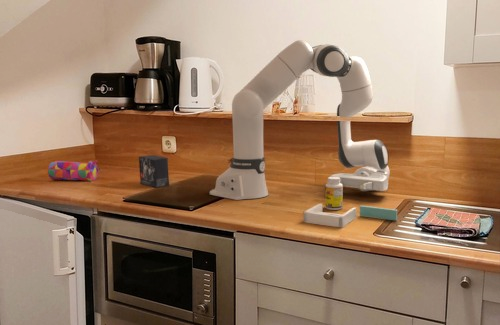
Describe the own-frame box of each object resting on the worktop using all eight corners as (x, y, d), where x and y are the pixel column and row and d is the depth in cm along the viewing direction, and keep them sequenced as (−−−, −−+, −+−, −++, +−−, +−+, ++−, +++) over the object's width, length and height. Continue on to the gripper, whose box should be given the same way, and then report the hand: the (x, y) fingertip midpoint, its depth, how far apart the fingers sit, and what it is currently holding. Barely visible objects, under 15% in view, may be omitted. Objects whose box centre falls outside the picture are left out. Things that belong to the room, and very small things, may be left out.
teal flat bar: (359, 215, 141) (359, 206, 141) (360, 215, 142) (360, 205, 141) (396, 220, 135) (396, 210, 135) (397, 219, 136) (397, 209, 136)
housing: (303, 222, 136) (303, 212, 136) (319, 212, 146) (319, 203, 146) (342, 227, 130) (342, 217, 130) (356, 217, 140) (356, 207, 140)
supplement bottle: (322, 206, 153) (322, 176, 152) (338, 205, 154) (338, 175, 153) (328, 211, 148) (329, 179, 146) (345, 209, 149) (345, 178, 147)
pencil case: (102, 178, 213) (100, 159, 211) (92, 182, 203) (91, 162, 202) (57, 178, 215) (56, 159, 214) (46, 182, 206) (44, 162, 205)
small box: (139, 183, 198) (138, 156, 196) (153, 181, 202) (152, 154, 200) (155, 188, 188) (153, 159, 186) (169, 185, 192) (168, 157, 191)
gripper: (339, 168, 176) (322, 173, 165) (392, 172, 164) (377, 179, 153) (339, 184, 177) (322, 190, 166) (391, 190, 165) (377, 197, 154)
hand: (349, 185), depth 160 cm, fingers open, 8 cm apart
